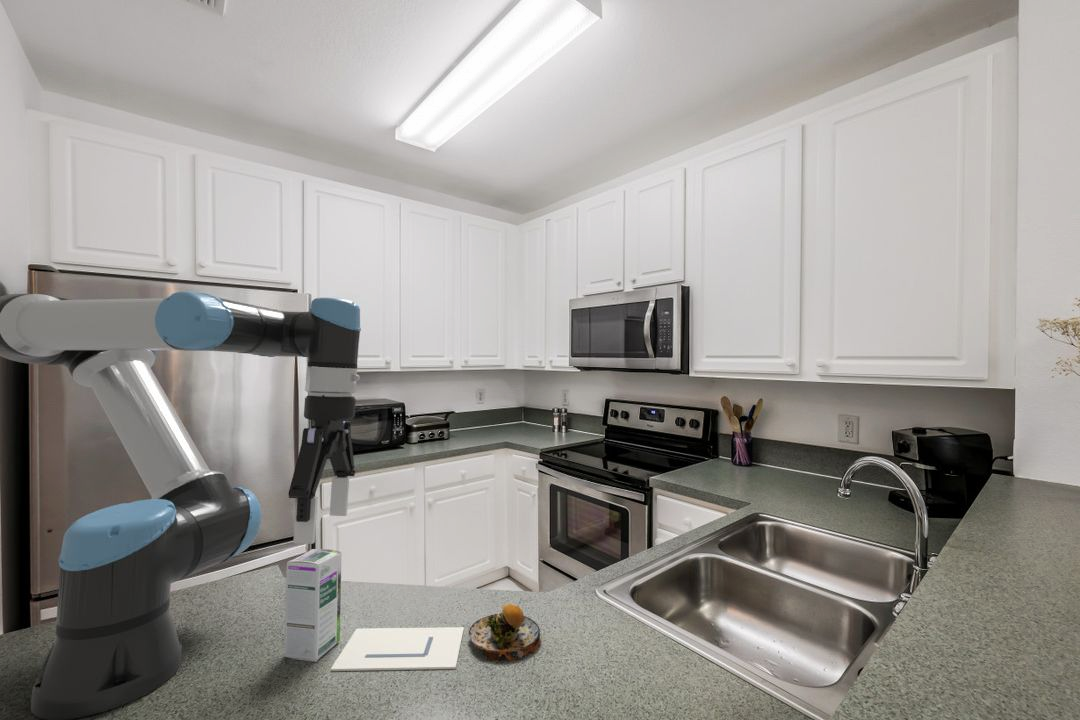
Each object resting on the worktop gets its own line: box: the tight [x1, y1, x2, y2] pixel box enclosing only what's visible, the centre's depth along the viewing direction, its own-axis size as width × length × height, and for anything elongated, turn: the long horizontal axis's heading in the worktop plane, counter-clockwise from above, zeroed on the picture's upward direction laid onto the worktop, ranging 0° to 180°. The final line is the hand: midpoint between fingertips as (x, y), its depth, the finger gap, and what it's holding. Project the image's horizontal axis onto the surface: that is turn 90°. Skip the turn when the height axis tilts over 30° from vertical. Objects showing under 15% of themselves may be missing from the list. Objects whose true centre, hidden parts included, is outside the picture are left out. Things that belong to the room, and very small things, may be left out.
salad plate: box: [468, 596, 541, 662], centre depth 75 cm, size 12×12×8 cm
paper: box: [330, 626, 465, 672], centre depth 72 cm, size 18×11×1 cm, turn 93°
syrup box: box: [283, 548, 342, 663], centre depth 72 cm, size 6×6×14 cm
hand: (322, 527), depth 73 cm, fingers open, 13 cm apart
